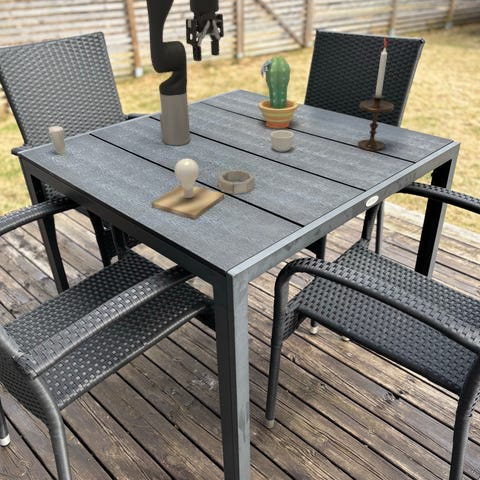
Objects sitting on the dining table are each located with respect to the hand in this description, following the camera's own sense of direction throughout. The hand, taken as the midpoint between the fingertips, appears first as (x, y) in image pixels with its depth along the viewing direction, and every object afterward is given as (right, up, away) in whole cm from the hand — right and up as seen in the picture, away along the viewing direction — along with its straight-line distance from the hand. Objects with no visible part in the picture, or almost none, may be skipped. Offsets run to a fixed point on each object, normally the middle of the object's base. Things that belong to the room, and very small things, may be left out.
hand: (206, 58), depth 127 cm
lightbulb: (-5, -39, -2) cm, 39 cm away
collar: (+8, -34, +7) cm, 36 cm away
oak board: (-5, -40, -2) cm, 40 cm away
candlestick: (+54, -18, +32) cm, 66 cm away
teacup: (+24, -19, +32) cm, 44 cm away
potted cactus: (+24, -5, +54) cm, 59 cm away
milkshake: (-52, -20, +31) cm, 64 cm away
